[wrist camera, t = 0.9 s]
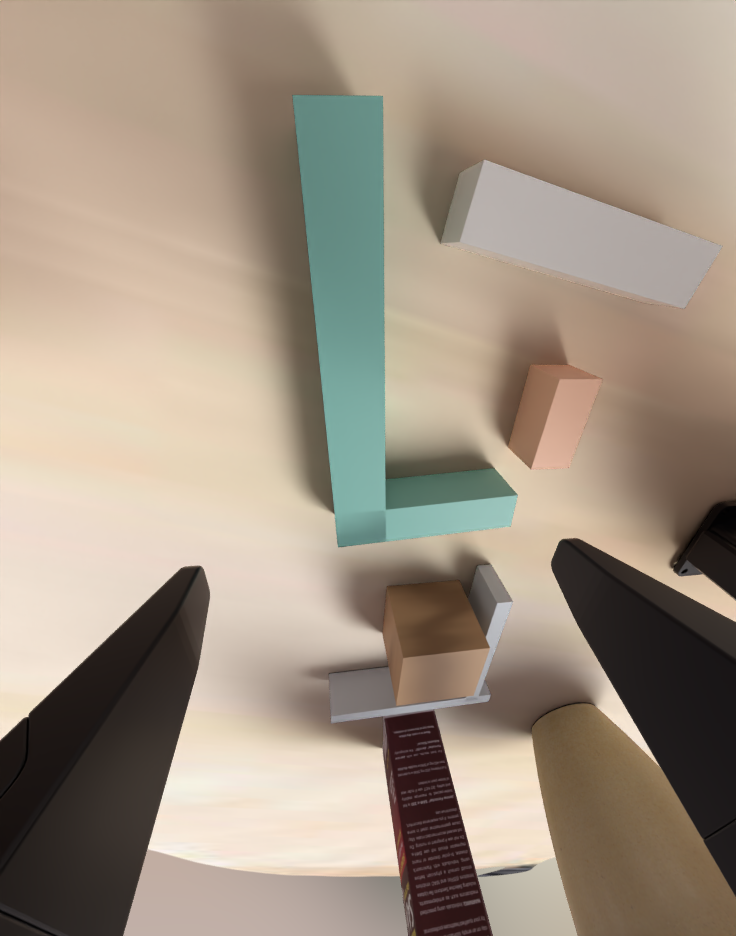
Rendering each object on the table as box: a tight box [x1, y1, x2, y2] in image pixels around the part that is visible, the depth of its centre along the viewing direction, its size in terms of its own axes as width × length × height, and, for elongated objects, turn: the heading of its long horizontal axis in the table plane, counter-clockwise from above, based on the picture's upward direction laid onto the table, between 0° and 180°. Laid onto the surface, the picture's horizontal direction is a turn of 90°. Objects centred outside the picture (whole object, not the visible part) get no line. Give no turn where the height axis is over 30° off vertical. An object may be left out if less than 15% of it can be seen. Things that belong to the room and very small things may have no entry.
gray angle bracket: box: [329, 564, 513, 723], centre depth 25 cm, size 12×12×3 cm
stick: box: [440, 159, 722, 309], centre depth 14 cm, size 2×10×2 cm, turn 77°
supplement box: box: [383, 709, 493, 936], centre depth 27 cm, size 9×5×16 cm, turn 1°
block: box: [383, 580, 490, 706], centre depth 23 cm, size 5×5×5 cm
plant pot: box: [532, 703, 736, 936], centre depth 32 cm, size 15×15×16 cm
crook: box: [292, 95, 518, 547], centre depth 15 cm, size 9×16×3 cm, turn 2°
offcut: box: [508, 365, 603, 470], centre depth 17 cm, size 2×4×2 cm, turn 178°
